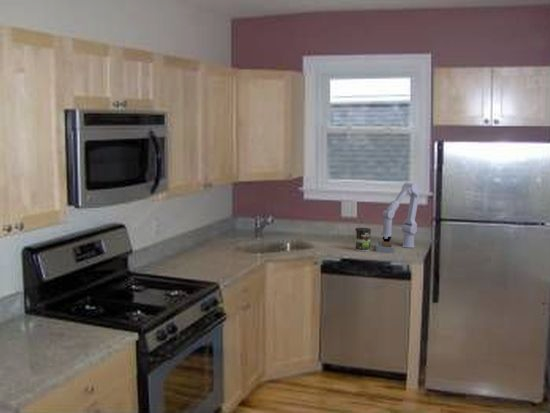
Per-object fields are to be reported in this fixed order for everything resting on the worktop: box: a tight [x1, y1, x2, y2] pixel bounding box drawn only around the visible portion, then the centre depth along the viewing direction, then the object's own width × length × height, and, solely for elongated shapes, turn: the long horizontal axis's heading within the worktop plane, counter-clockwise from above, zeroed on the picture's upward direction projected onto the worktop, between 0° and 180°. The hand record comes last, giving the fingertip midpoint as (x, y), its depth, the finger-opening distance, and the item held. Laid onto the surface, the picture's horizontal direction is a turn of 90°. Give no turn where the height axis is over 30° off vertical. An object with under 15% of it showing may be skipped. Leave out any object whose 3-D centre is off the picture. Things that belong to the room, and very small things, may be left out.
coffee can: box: [354, 227, 372, 252], centre depth 415 cm, size 10×10×14 cm
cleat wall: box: [375, 240, 395, 254], centre depth 417 cm, size 18×12×4 cm, turn 164°
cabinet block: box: [381, 240, 392, 247], centre depth 412 cm, size 4×6×6 cm
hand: (386, 247), depth 420 cm, fingers closed
